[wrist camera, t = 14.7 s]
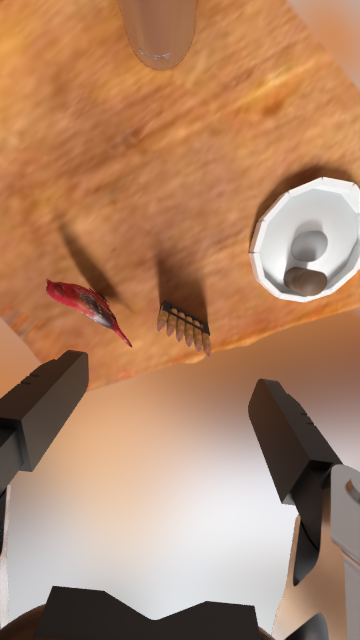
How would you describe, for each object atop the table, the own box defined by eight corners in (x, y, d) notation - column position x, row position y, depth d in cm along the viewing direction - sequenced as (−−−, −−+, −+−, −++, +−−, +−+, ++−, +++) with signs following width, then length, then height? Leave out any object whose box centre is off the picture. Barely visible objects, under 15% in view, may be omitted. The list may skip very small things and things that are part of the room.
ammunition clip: (160, 307, 39) (150, 333, 28) (164, 300, 39) (156, 323, 28) (203, 331, 41) (210, 364, 30) (208, 324, 41) (217, 355, 29)
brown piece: (287, 265, 35) (307, 269, 29) (308, 268, 35) (331, 273, 30) (280, 286, 37) (297, 294, 31) (300, 289, 37) (320, 298, 31)
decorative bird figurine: (77, 267, 37) (41, 274, 27) (144, 329, 41) (132, 354, 32) (69, 277, 37) (31, 288, 28) (135, 337, 42) (121, 363, 33)
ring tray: (270, 173, 30) (277, 168, 28) (382, 195, 31) (398, 191, 29) (238, 289, 37) (241, 292, 35) (330, 304, 38) (339, 308, 36)
